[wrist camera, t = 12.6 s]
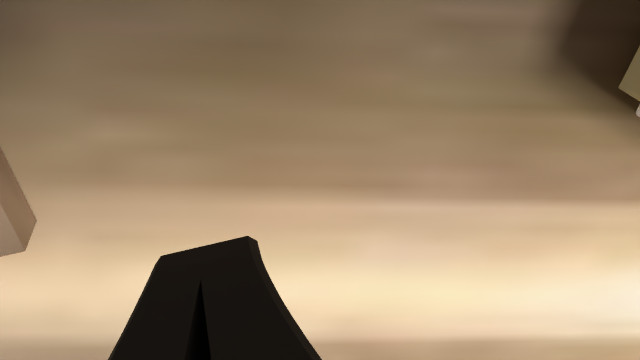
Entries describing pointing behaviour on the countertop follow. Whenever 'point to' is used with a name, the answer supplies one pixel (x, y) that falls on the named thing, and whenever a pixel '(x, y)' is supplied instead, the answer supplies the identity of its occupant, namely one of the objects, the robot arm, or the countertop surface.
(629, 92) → the stacked layers on plate
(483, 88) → the countertop surface
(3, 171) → the flat wooden platform
